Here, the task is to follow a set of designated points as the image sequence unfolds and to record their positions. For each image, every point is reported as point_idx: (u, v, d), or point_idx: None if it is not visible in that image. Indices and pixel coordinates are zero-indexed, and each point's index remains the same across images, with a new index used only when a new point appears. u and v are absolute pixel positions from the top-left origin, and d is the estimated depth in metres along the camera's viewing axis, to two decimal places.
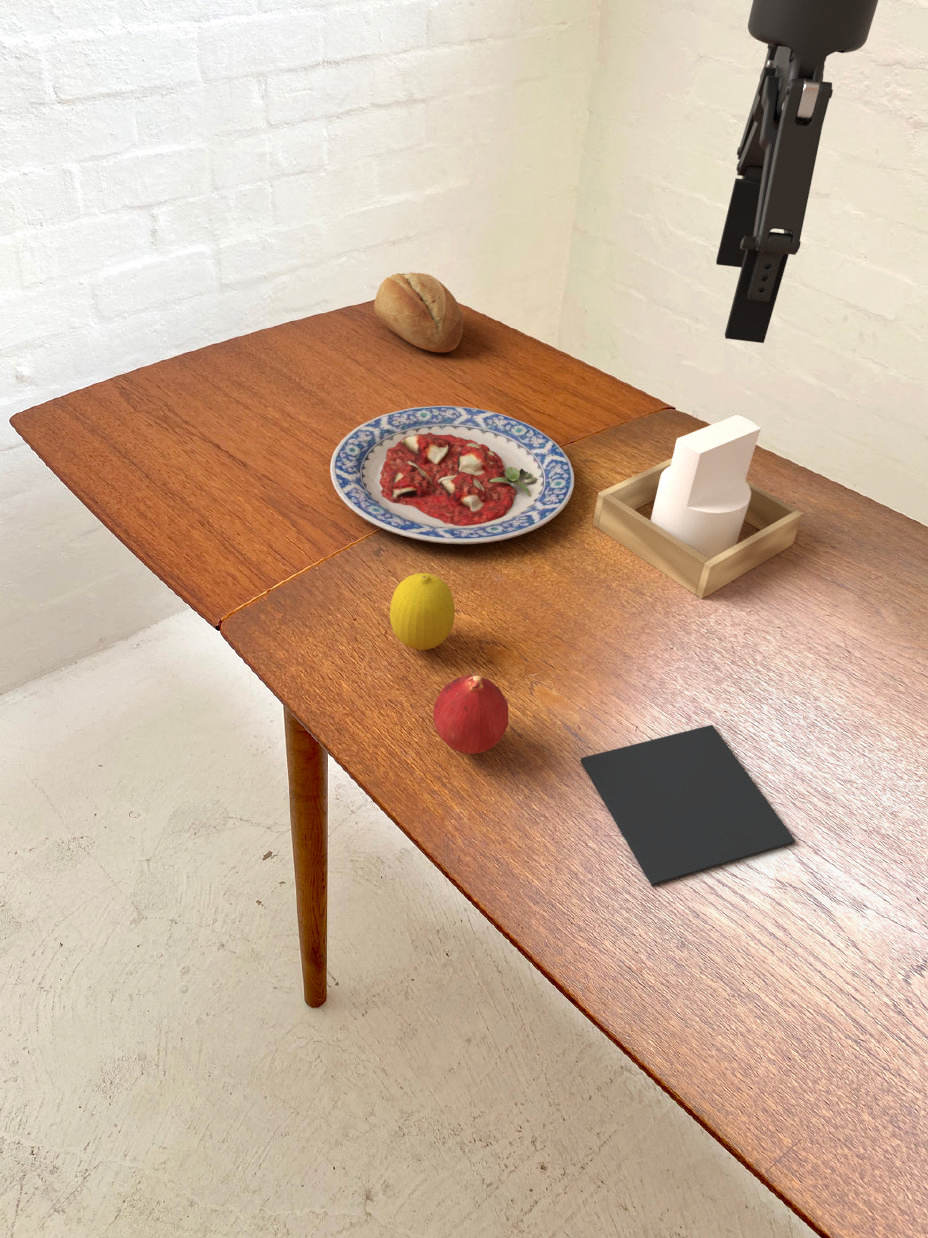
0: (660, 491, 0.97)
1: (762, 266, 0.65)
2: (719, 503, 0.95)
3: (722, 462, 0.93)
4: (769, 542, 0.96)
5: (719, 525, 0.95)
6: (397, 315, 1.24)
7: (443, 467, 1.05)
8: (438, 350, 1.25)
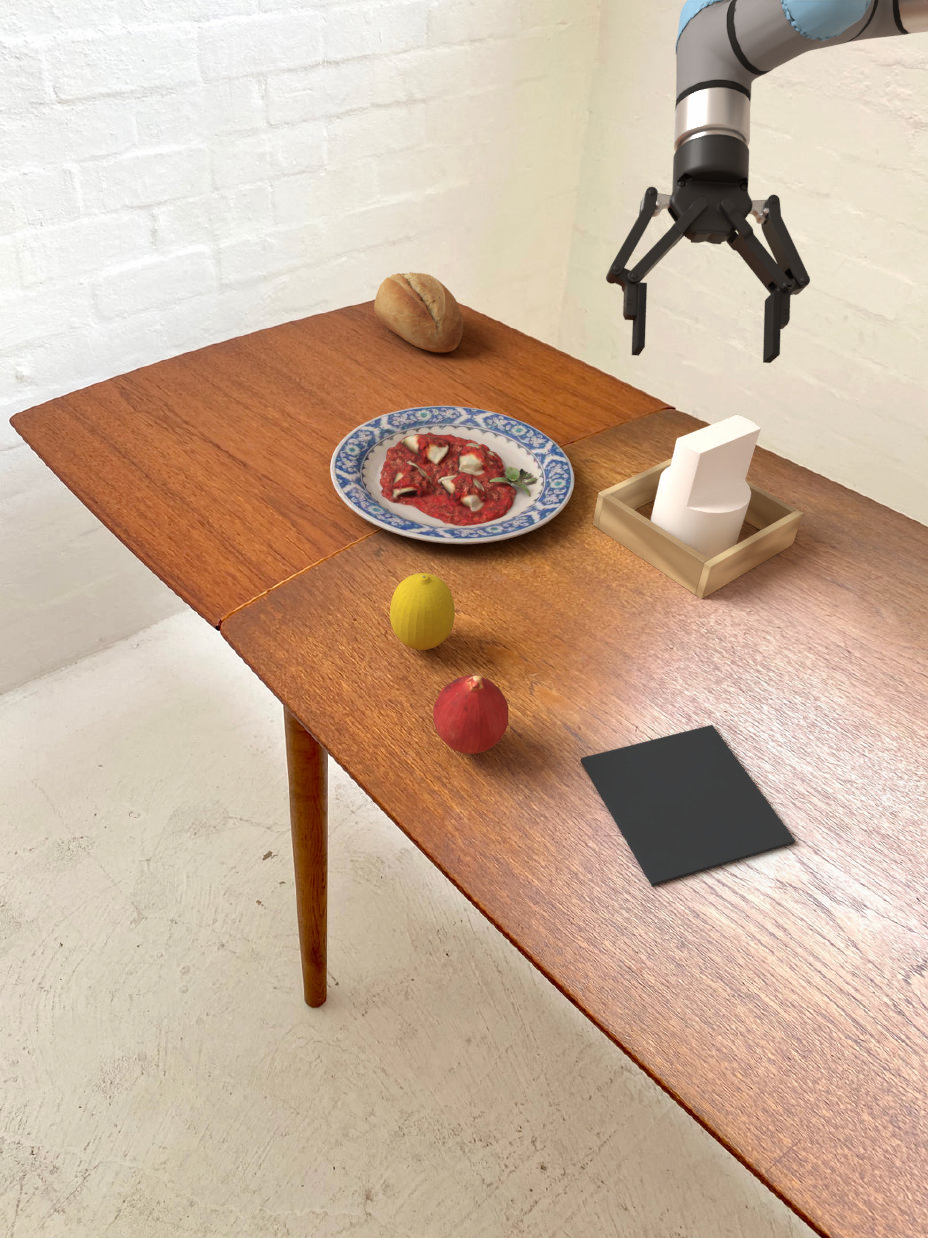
0: (660, 491, 0.97)
1: (624, 295, 0.99)
2: (719, 503, 0.95)
3: (722, 462, 0.93)
4: (769, 542, 0.96)
5: (719, 525, 0.95)
6: (397, 315, 1.24)
7: (443, 467, 1.05)
8: (438, 350, 1.25)
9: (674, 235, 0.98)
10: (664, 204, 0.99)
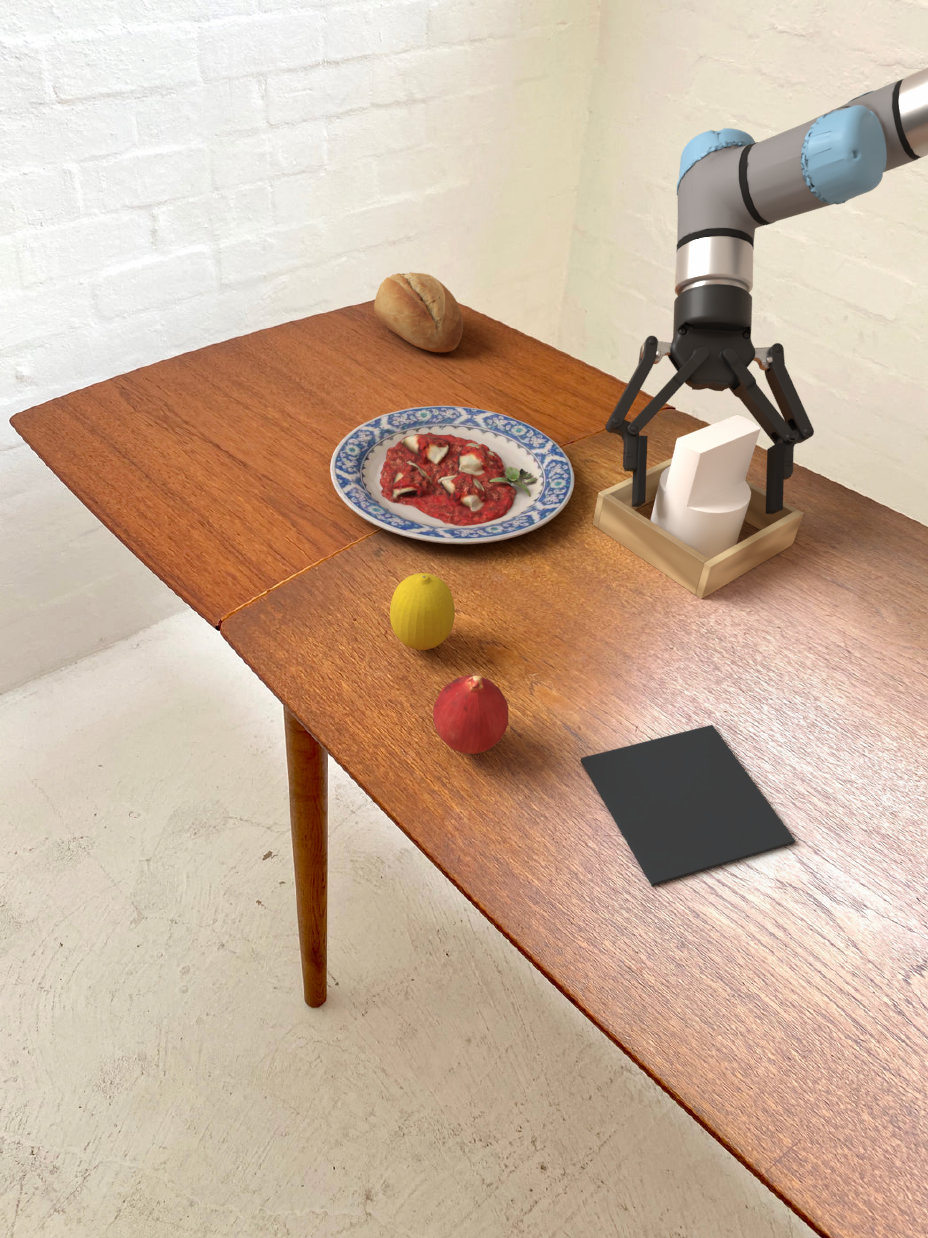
0: (660, 491, 0.97)
1: (624, 446, 0.96)
2: (719, 503, 0.95)
3: (722, 462, 0.93)
4: (769, 542, 0.96)
5: (719, 525, 0.95)
6: (397, 315, 1.24)
7: (443, 467, 1.05)
8: (438, 350, 1.25)
9: (675, 385, 0.95)
10: (664, 352, 0.96)
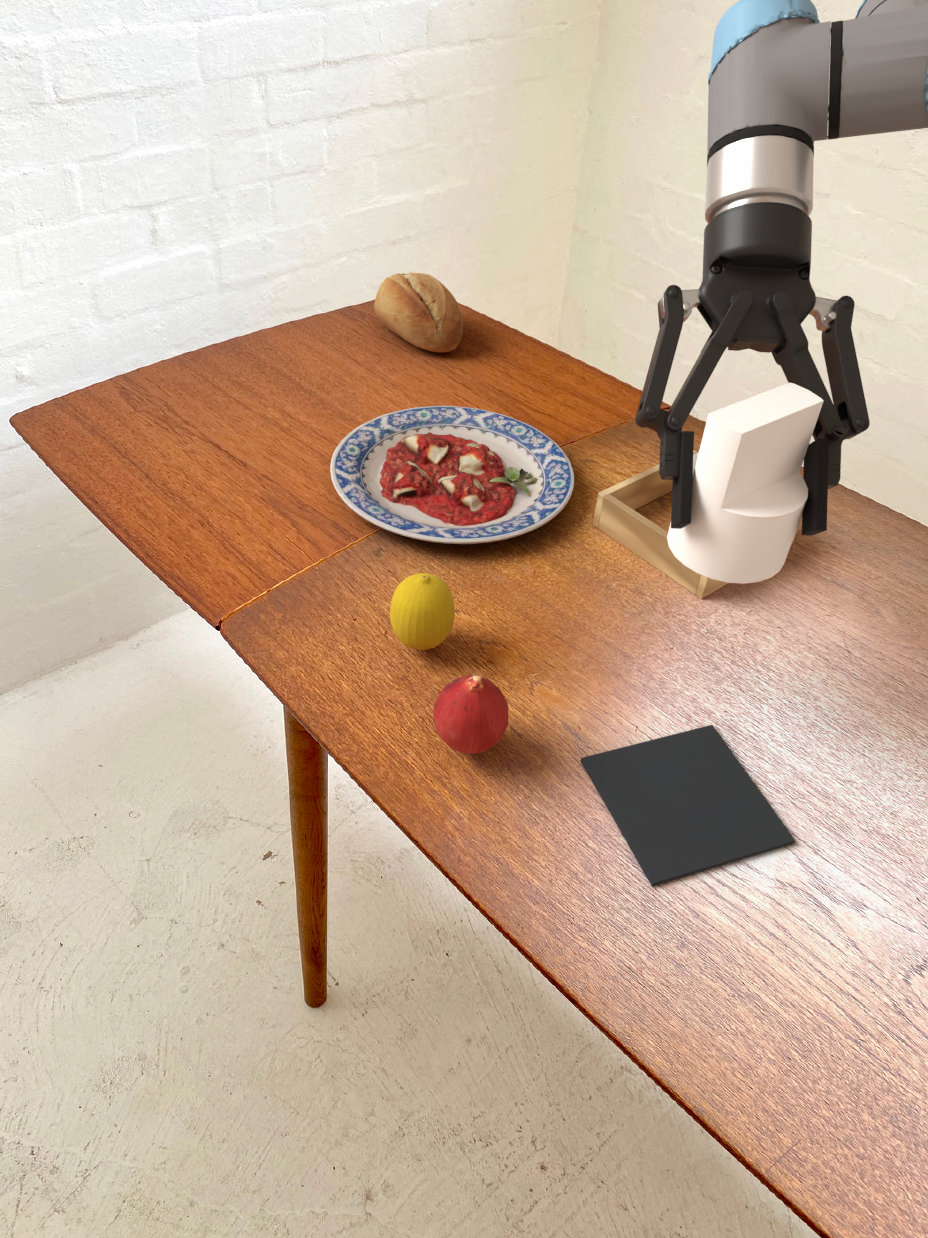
0: None
1: (661, 445, 0.70)
2: (766, 504, 0.69)
3: (770, 447, 0.67)
4: None
5: (765, 533, 0.69)
6: (397, 315, 1.24)
7: (443, 467, 1.05)
8: (438, 350, 1.25)
9: (716, 351, 0.69)
10: (693, 304, 0.70)
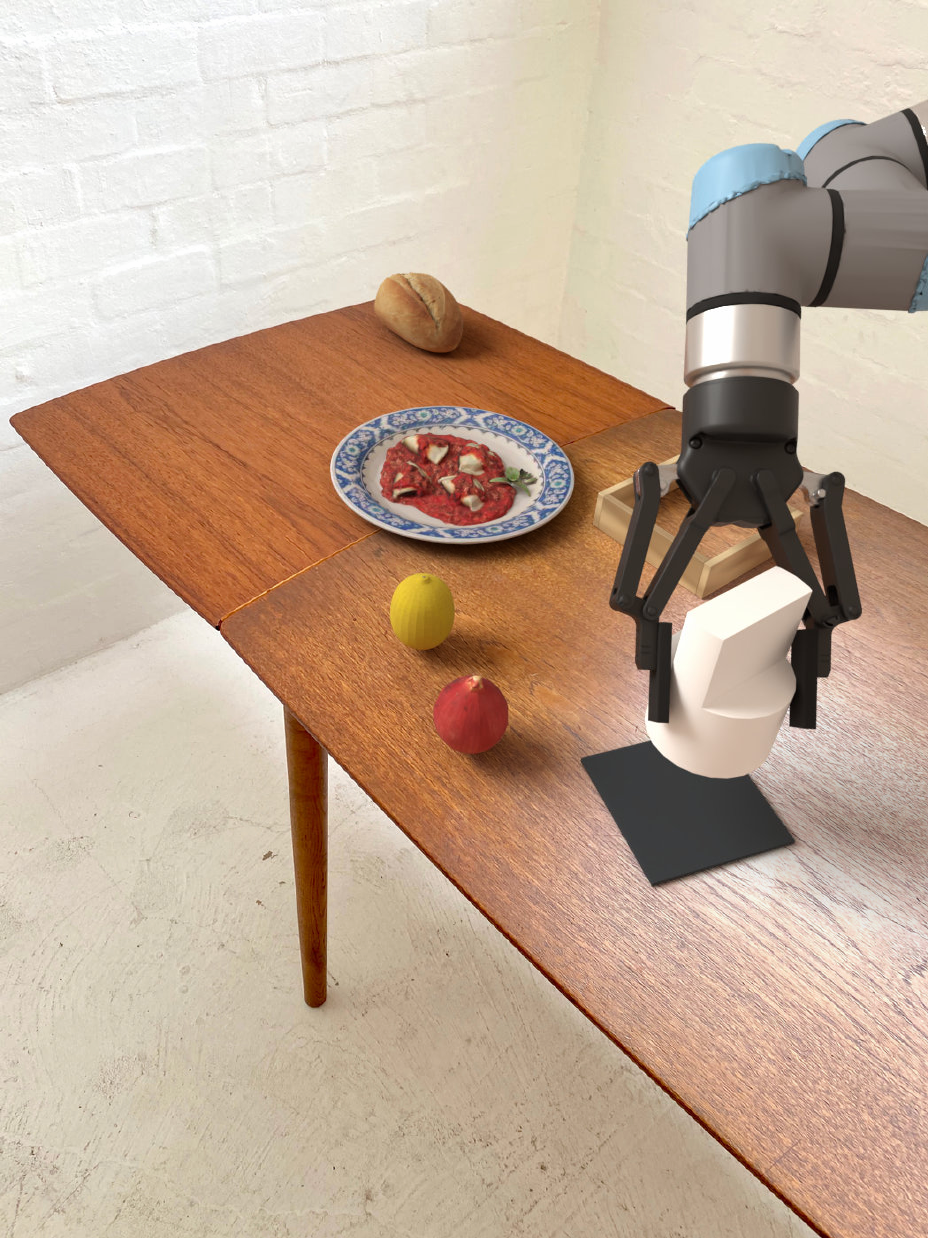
0: None
1: (636, 633, 0.65)
2: (750, 701, 0.63)
3: (755, 643, 0.62)
4: None
5: (749, 733, 0.63)
6: (397, 315, 1.24)
7: (443, 467, 1.05)
8: (438, 350, 1.25)
9: (696, 533, 0.64)
10: (671, 480, 0.65)
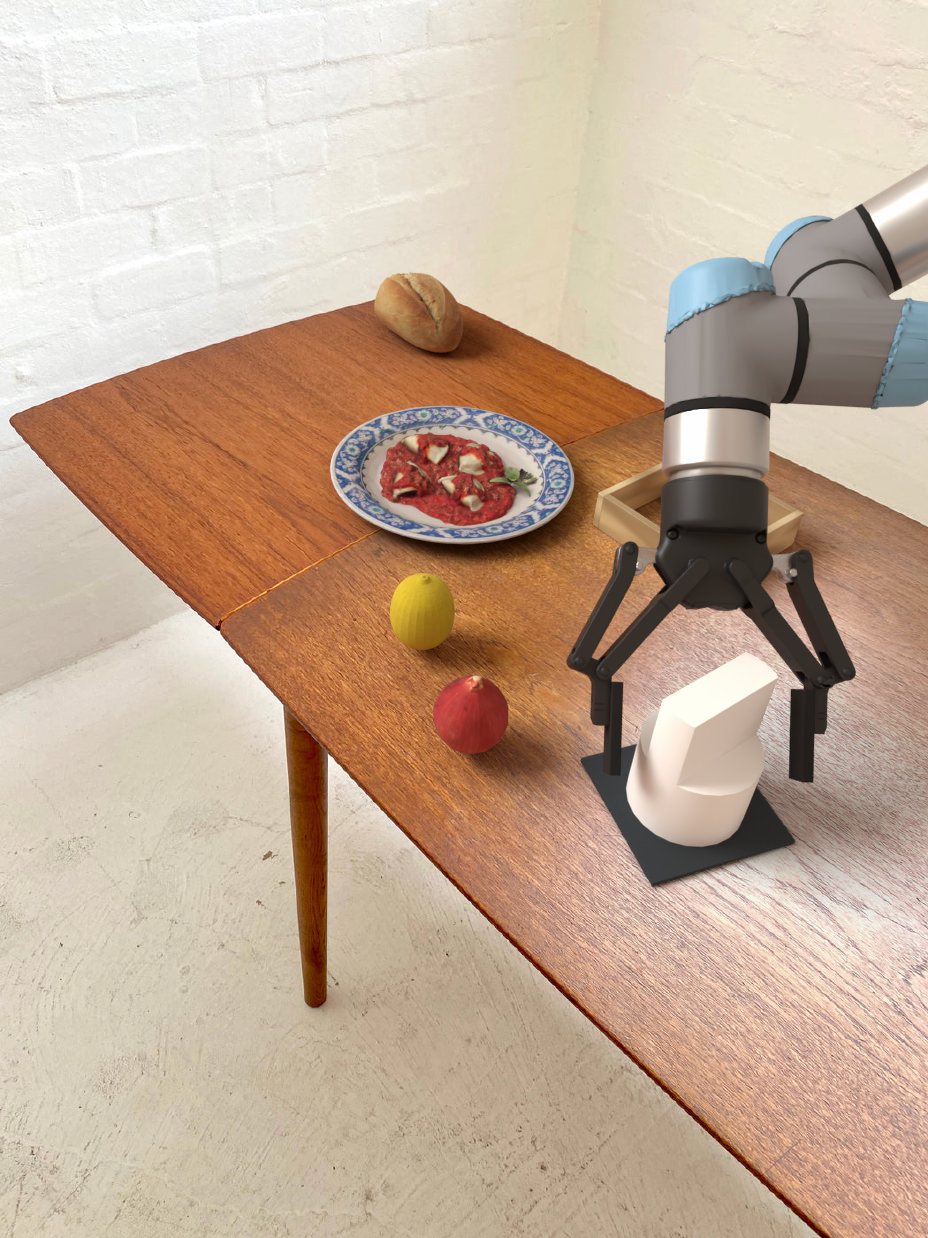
0: (640, 754, 0.71)
1: (591, 691, 0.70)
2: (722, 778, 0.69)
3: (725, 726, 0.67)
4: (769, 542, 0.96)
5: (721, 808, 0.69)
6: (397, 315, 1.24)
7: (443, 467, 1.05)
8: (438, 350, 1.25)
9: (662, 611, 0.69)
10: (648, 563, 0.70)
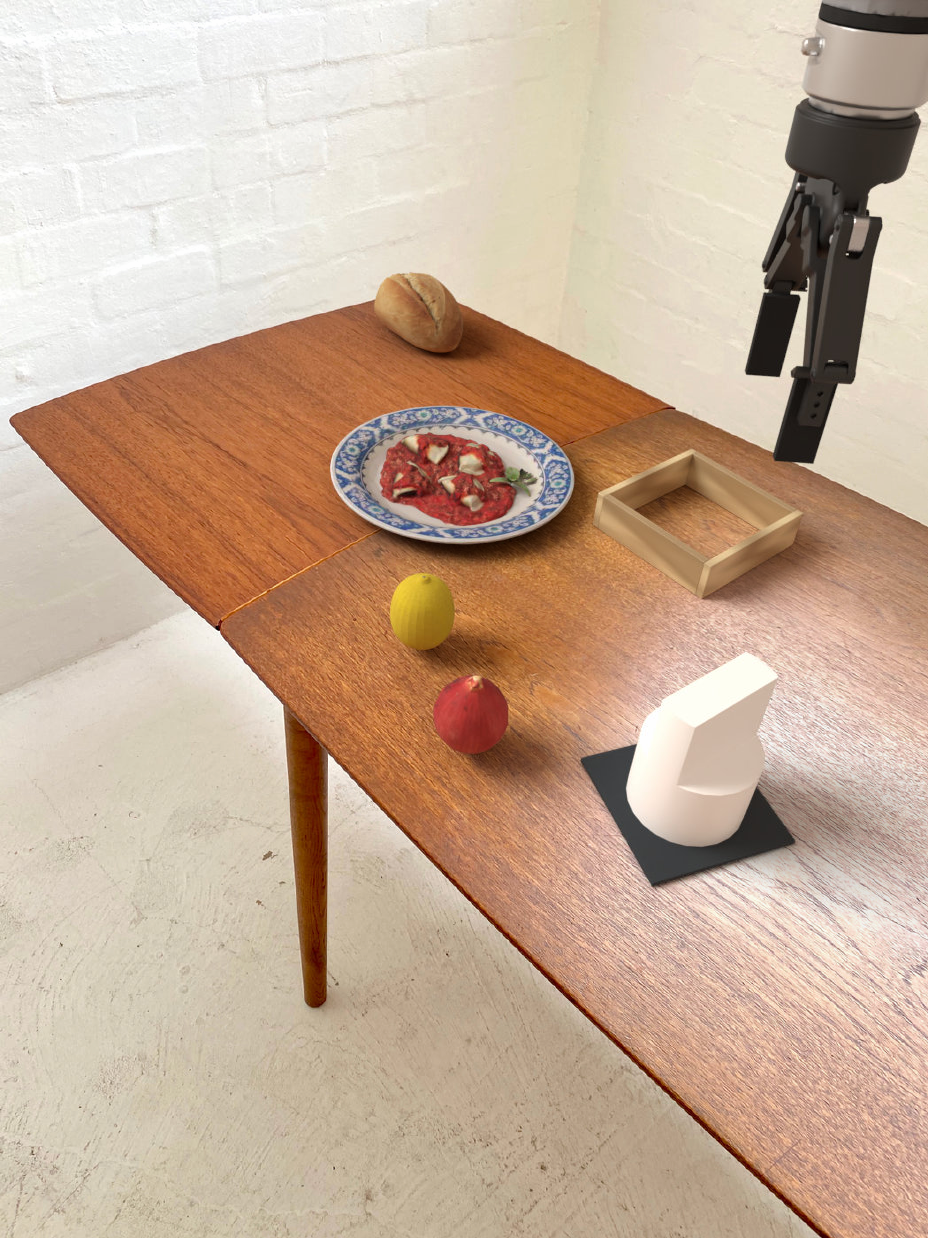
0: (640, 754, 0.71)
1: (814, 394, 0.64)
2: (722, 778, 0.69)
3: (725, 726, 0.67)
4: (769, 542, 0.96)
5: (721, 808, 0.69)
6: (397, 315, 1.24)
7: (443, 467, 1.05)
8: (438, 350, 1.25)
9: None
10: None
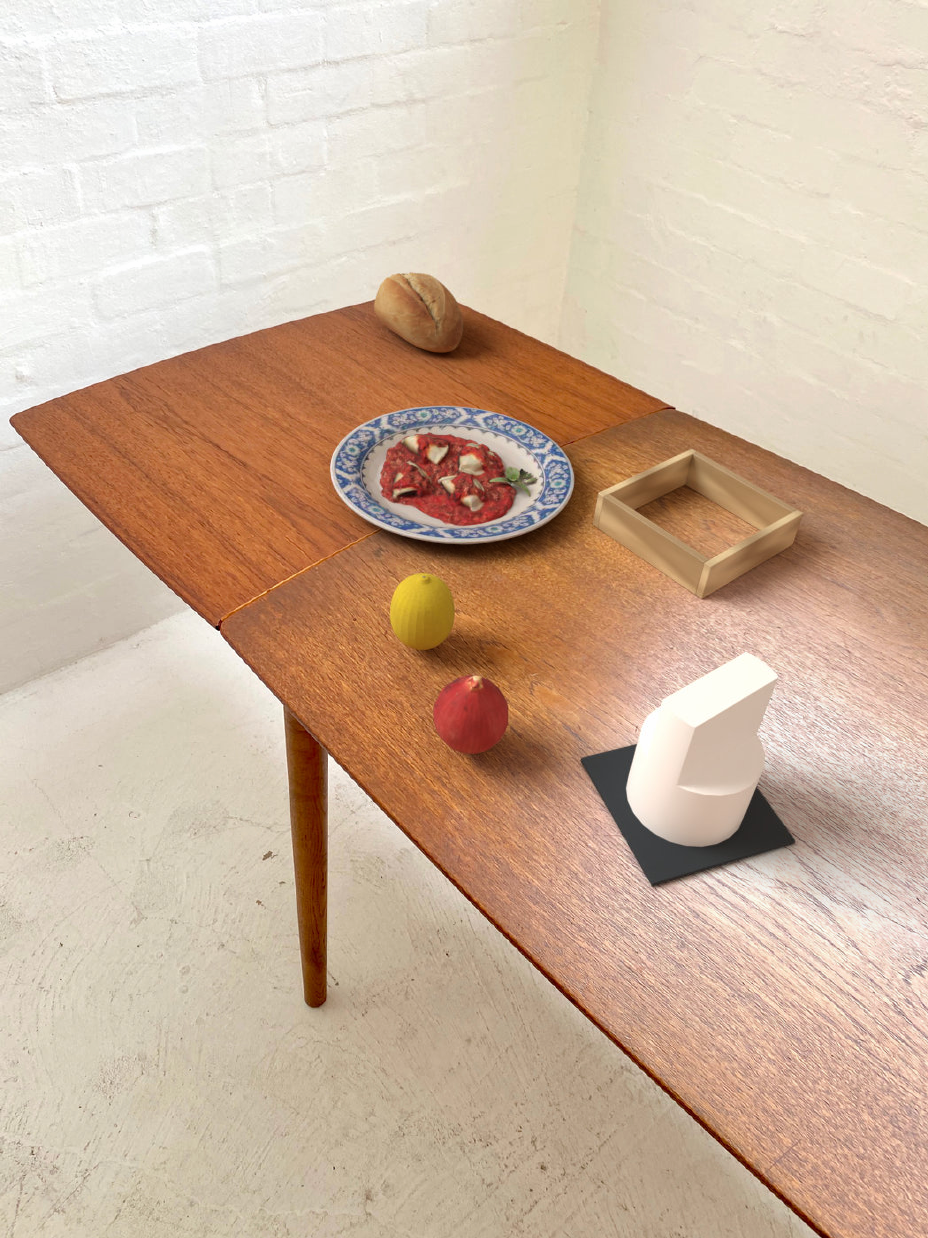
0: (640, 754, 0.71)
1: None
2: (722, 778, 0.69)
3: (725, 726, 0.67)
4: (769, 542, 0.96)
5: (721, 808, 0.69)
6: (397, 315, 1.24)
7: (443, 467, 1.05)
8: (438, 350, 1.25)
9: None
10: None
